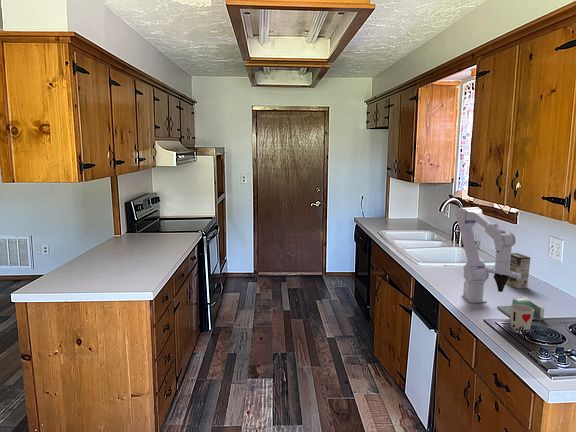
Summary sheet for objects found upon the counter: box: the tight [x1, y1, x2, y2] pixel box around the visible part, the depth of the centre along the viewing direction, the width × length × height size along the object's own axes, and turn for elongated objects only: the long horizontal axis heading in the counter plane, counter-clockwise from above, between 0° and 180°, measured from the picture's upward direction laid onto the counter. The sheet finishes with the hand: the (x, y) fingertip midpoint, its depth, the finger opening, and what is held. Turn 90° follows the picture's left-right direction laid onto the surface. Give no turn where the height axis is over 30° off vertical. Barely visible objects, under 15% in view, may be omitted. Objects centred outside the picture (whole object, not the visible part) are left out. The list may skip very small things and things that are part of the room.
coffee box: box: [505, 252, 531, 289], centre depth 220 cm, size 9×6×16 cm
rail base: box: [496, 295, 545, 320], centre depth 184 cm, size 14×12×6 cm
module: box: [511, 297, 533, 307], centre depth 185 cm, size 4×6×5 cm, turn 97°
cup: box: [509, 304, 534, 332], centre depth 167 cm, size 8×8×10 cm
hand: (500, 291), depth 184 cm, fingers closed
